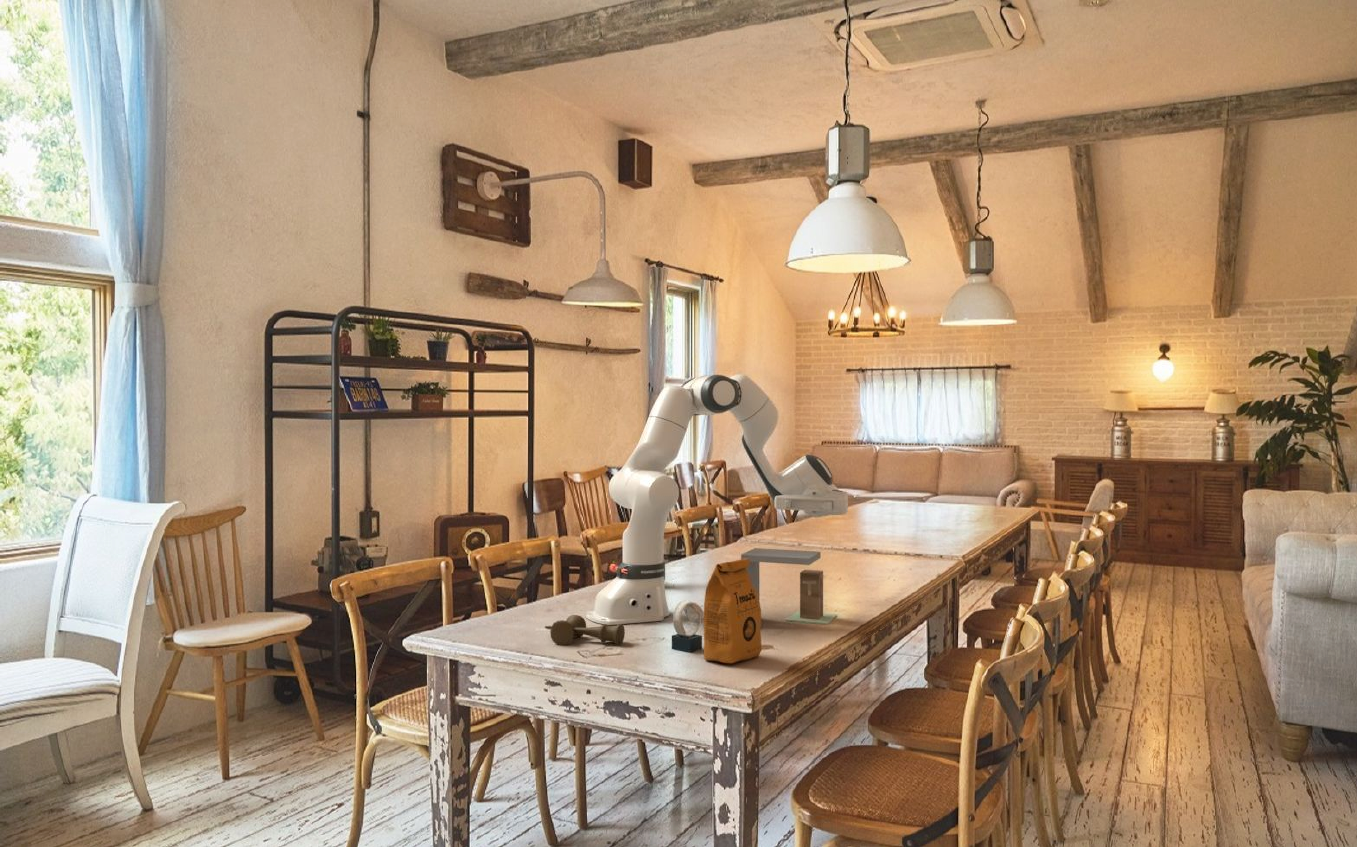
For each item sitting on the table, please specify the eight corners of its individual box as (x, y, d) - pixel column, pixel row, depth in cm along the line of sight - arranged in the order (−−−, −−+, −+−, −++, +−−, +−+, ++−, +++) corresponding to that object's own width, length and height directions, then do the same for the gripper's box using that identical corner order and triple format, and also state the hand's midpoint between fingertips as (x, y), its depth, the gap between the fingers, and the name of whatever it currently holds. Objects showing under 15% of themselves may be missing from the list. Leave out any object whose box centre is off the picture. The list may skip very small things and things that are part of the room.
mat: (796, 612, 258) (796, 611, 258) (836, 615, 253) (836, 614, 253) (786, 621, 247) (786, 619, 247) (827, 624, 243) (827, 623, 243)
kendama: (615, 652, 219) (535, 643, 224) (628, 643, 228) (552, 635, 234) (616, 626, 219) (536, 618, 224) (629, 618, 228) (553, 611, 234)
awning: (755, 617, 251) (755, 548, 251) (820, 623, 244) (820, 551, 244) (741, 627, 240) (741, 554, 240) (809, 633, 233) (809, 558, 233)
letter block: (804, 614, 254) (804, 569, 253) (823, 615, 252) (823, 570, 252) (799, 618, 249) (799, 572, 249) (818, 619, 247) (818, 573, 247)
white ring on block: (707, 647, 220) (707, 600, 220) (685, 654, 214) (685, 606, 214) (688, 643, 224) (688, 597, 224) (666, 650, 218) (666, 602, 217)
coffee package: (768, 658, 211) (768, 559, 210) (730, 669, 202) (730, 566, 202) (735, 650, 218) (735, 554, 217) (697, 660, 209) (697, 561, 209)
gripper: (781, 489, 271) (767, 492, 259) (852, 491, 264) (842, 495, 251) (781, 510, 272) (767, 515, 259) (852, 514, 264) (841, 519, 251)
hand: (804, 505), depth 255 cm, fingers open, 8 cm apart
